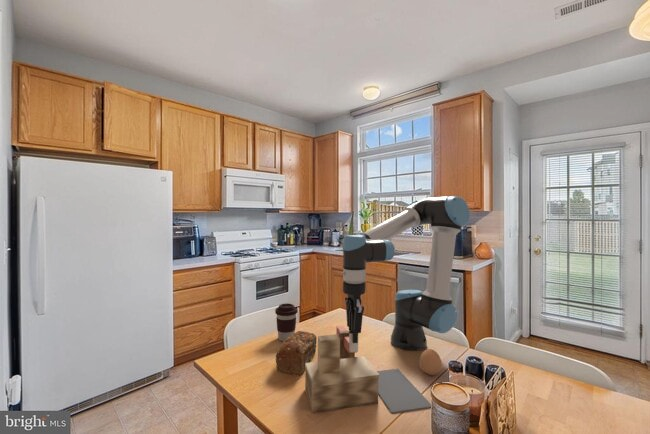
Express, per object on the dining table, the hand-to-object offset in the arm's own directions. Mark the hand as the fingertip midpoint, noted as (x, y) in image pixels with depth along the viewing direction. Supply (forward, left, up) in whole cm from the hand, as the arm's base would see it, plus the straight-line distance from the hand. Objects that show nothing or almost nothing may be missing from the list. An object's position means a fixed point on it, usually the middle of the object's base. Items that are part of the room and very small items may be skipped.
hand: (353, 350), depth 102 cm
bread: (+17, -17, -11) cm, 26 cm away
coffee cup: (+19, -40, -11) cm, 45 cm away
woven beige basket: (+7, +2, -10) cm, 12 cm away
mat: (-12, +7, -10) cm, 17 cm away
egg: (-28, +1, -11) cm, 30 cm away
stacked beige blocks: (+7, +8, -2) cm, 11 cm away
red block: (0, -9, -1) cm, 9 cm away
